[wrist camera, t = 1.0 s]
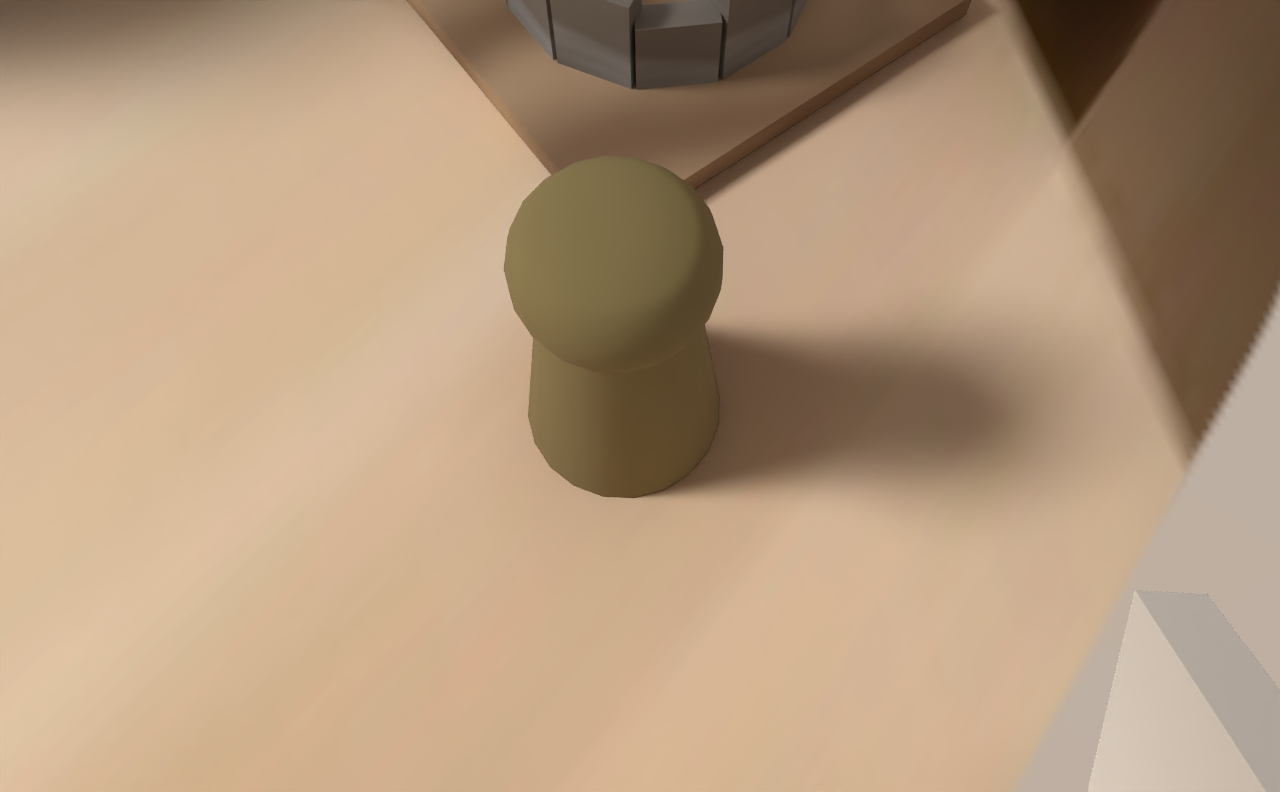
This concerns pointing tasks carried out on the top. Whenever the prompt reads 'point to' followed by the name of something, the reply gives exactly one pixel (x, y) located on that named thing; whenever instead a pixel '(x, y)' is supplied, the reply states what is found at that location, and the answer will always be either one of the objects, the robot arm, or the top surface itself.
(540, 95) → the collar
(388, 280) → the top surface
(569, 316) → the cork
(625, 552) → the top surface
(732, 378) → the top surface
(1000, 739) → the top surface
